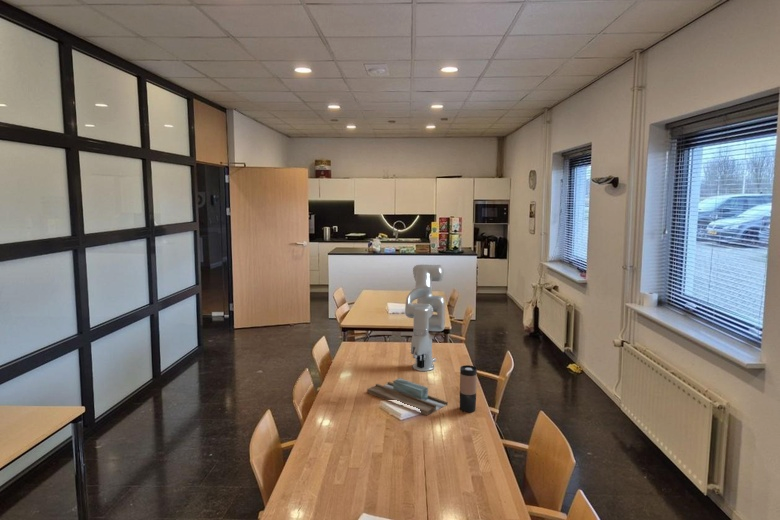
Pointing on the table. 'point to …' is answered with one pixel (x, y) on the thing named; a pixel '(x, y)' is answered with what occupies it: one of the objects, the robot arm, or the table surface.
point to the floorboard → (407, 398)
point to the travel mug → (468, 388)
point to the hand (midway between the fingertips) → (420, 367)
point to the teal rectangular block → (411, 389)
